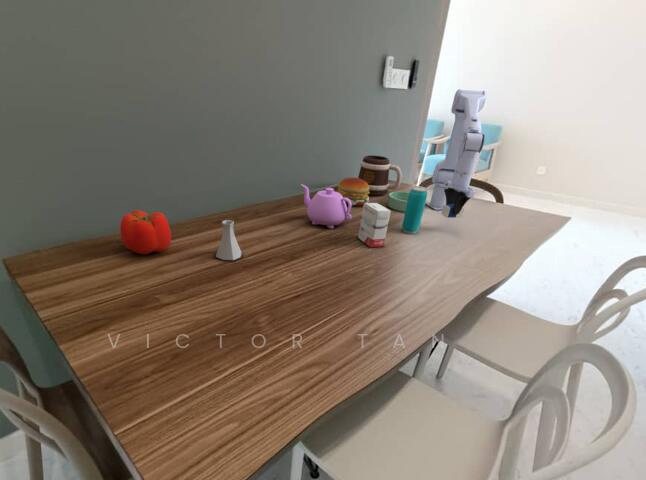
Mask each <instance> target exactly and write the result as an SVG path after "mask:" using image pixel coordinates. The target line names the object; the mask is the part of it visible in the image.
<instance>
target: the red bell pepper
mask: <svg viewBox="0 0 646 480" xmlns="http://www.w3.org/2000/svg"><path fill="white" fill-rule="evenodd" d="M119 230H120V237H121V240H122V242H123V245H124V247H125V248H126V249H128V250H129V251H131V252H134V253H135V254H139V255H144V256H145V255H149V254H151V253H152V252H155V253H162V252H164V251H165V250H167V249H168V248H169V247H170V246H171V243H172V232H171V228H170V225H169V221H168V219H167V217H166V216H165V215H164V214H163V213H162V212H158V211H154V212H153V213H150V214H148V213H147V212H145V211H143V210H132V211H131V212H130V213H127V214H124V215H123V216H122V218H121V220H120V227H119Z"/></svg>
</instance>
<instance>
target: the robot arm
mask: <svg viewBox="0 0 646 480" xmlns="http://www.w3.org/2000/svg"><path fill="white" fill-rule="evenodd" d="M486 100H487V91H485V90H471V89H461V88H458V89H457V90H456V91H455V93H454V96H453V101H452V104H451V109H450V110H451V111H450V112H451V114H454V122H453V125H452V129H451V133H450V138H449V142H448V145H447V149H446V153H445V158H444V159H442V160H440V161H438V162H437V163H436V164H435V167H434V169H433V173H432V178H431V182H432V184H434V186H433V189H432V194H431V198H430V202H425V206H428V207H430V208H432V209H433V210H435V211H436V210H438V211H439V210H440V211H442V209H443V205H445V204H454V207H453V214H459V213H460V211H461V209H462V208H463V207H464V206H465V205H466V203H468V202H469V200H470V199H471V198H474V197H475V194H476V191H475V190H474V189H472V188H471V186H470V183H471V180H472V176H473V174H474V170H475V166H476V163H477V160H478V156H479V154H480V153H481V152H482V150H483V147H484V144H485V140H486V134H485V133H484V131H482V120H481V118H479V113H480V112H481V110H483V108H484V106H485V104H486Z"/></svg>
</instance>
